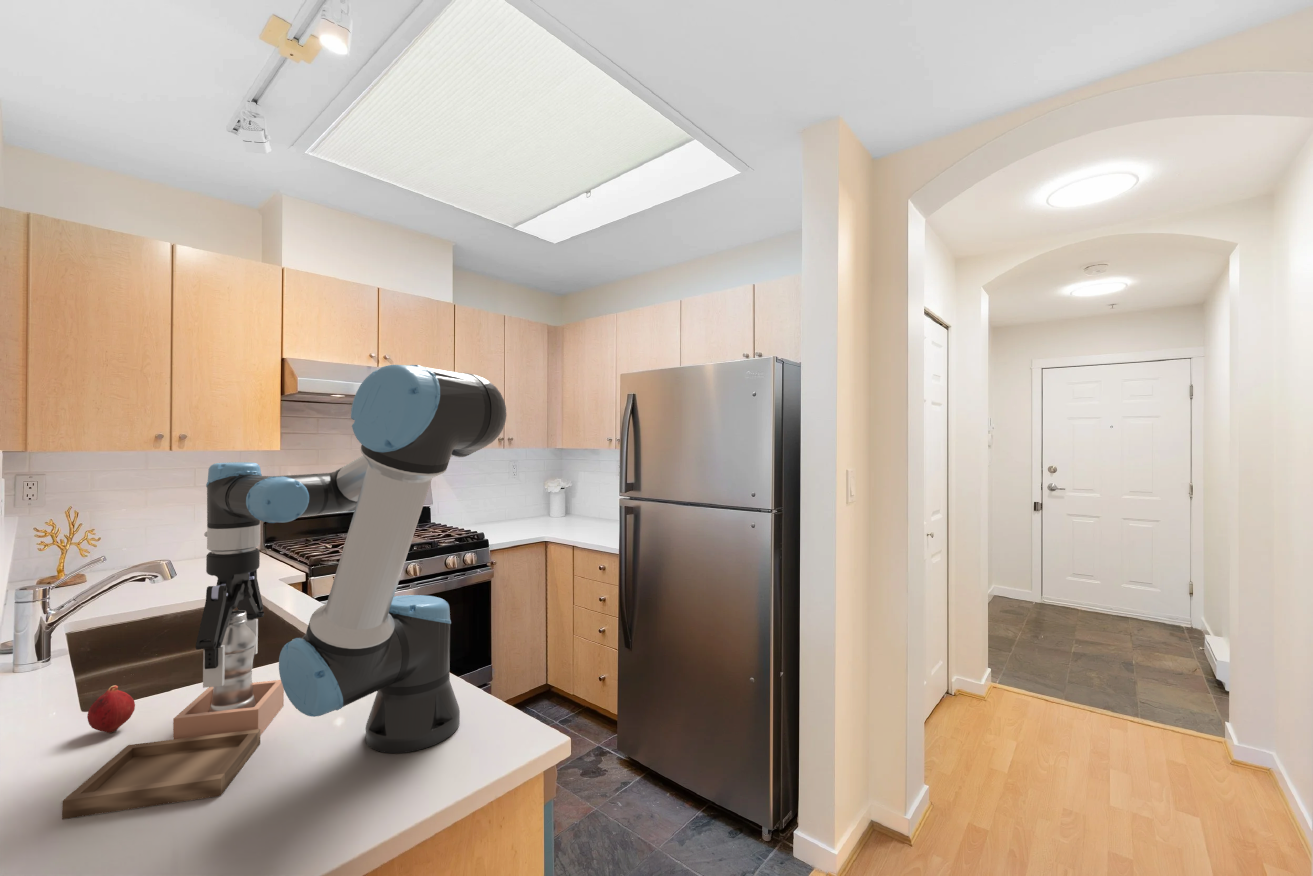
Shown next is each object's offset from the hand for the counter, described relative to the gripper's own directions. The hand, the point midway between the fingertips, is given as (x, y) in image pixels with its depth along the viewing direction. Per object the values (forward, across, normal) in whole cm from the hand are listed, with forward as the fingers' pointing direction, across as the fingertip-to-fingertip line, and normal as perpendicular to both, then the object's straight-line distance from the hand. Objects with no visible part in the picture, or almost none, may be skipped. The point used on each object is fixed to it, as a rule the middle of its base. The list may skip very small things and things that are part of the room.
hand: (232, 669), depth 99 cm
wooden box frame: (+10, 0, 0) cm, 10 cm away
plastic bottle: (+10, 0, 0) cm, 10 cm away
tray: (+10, +15, -2) cm, 18 cm away
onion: (+10, -3, -19) cm, 22 cm away
